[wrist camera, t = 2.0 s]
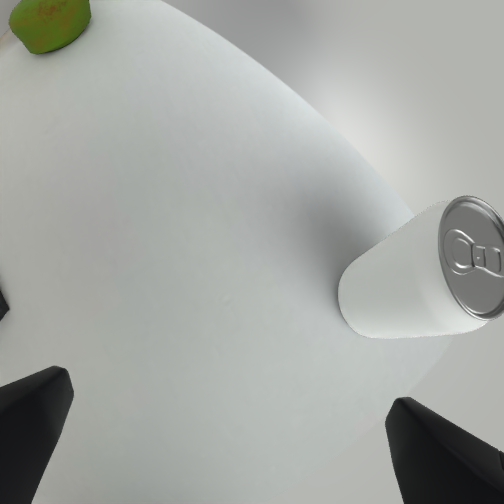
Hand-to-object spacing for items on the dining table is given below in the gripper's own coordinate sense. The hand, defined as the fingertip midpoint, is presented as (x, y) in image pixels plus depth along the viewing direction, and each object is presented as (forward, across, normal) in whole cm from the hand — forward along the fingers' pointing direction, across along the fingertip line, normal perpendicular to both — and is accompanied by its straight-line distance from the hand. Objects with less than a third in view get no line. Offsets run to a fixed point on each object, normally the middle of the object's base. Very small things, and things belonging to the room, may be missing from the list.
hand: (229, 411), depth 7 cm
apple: (+31, +30, -26) cm, 51 cm away
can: (+15, -10, +2) cm, 18 cm away
